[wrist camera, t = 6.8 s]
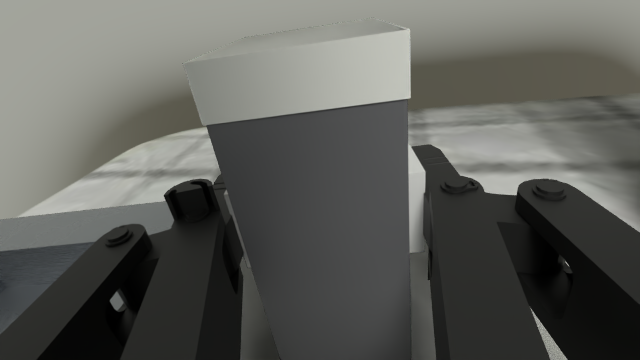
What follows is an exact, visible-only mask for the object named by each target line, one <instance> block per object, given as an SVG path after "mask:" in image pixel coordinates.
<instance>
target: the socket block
mask: <svg viewBox="0 0 640 360" xmlns="http://www.w3.org/2000/svg"><path fill="white" fill-rule="evenodd" d="M173 222H174V219H173V216H172V214H171V212H170V209H169V207H168V205H167V202H166V201H164V202H155V203H146V204H137V205H128V206H119V207H110V208H101V209H92V210H83V211H74V212H64V213H55V214H46V215H37V216H28V217H19V218H11V219H2V220H0V334H1V333H2V332H3V331H4V330H5V329H6V328H7V327H8V326H9V325H10V324H11V323H13V322H14V321H15V320H16V319H17V318H18V317H19V316H20V315H21V314H22V313H23V312H24V311H25V310H26V309H27V308H28V307H29V306H30V305H31V304H32V303H33V302H34V301H35V300H36V299H37V298H38V297H39V296H40V295H41V294H42V293H43V292H44V291H45V290H46V289H47V288H48V287H49V286H50V285H51V284H52V283H54V282H55V281H56V280H57V279H58V278H59V277H60V276H61V275H62V274H63V273H64V272H65V271H66V270H67V269H68V268H69V267H70V266H71V265H72V264H73V263H74V262H75V261H76V260H77V259H78V258H79V257H80V256H81V255H82V254H83V253H84V252H85V251H86V250H87V249H88V248H89V247H90V246H91V245H92V244H93V243H95V242H96V241H97V240H98V239H99V238H100V237H101V236H103V235H104V234H106V233H107V232H109V231H111V230H112V229H113V228H116V227H119V226H122V225H128V224H141V225H143V226H144V227H145V229H146V231H147V233H148V235H151V234H155V233H158V232H162V231H165V230H168V229H171V227H172V224H173ZM110 302H111V304H112V306H113V307H114V309H115V310H118V309H119V308H120V307H121V306H122V304H123V301H122V299H121V297H120V296H119V294H118V292H116V293H115V294H114V296H113V297H112V298H111V300H110Z"/></svg>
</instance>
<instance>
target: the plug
mask: <svg viewBox="0 0 640 360" xmlns="http://www.w3.org/2000/svg"><path fill="white" fill-rule="evenodd" d="M183 66H184V69H185V72H186V75H187V78H188V82H189V84H190V88H191V91H192V94H193V97H194V100H195V103H196V106H197V110H198V113H199V116H200V119H201V122H202V125H206V126H207V130H208V133H209V136H210V139H211V142H212V145H213V149H214V152H215V155H216V158H217V161H218V164H219V168H220V171H221V174H222V177H223V180H224V183H225V186H226V190H227V193H228V196H229V199H230V202H231V205H232V209H233V212H234V215H235V218H236V221H237V224H238V228H239V231H240V234H241V237H242V240H243V243H244V247H245V250H246V253H247V256H248V259H249V262H250V266H251V269H252V272H253V275H254V278H255V281H256V284H257V288H258V291H259V294H260V297H261V300H262V303H263V307H264V310H265V313H266V316H267V319H268V322H269V326H270V329H271V332H272V335H273V338H274V341H275V345H276V348H277V351H278V354H279V357H280V360H411V311H410V242H409V172H408V108H407V107H408V103H407V99H409V98H411V83H410V29H407V28H404V27H401V26H398V25H395V24H392V23H389V22H386V21H383V20H380V19H376V18H368V19H361V20H356V21H349V22H342V23H335V24H329V25H322V26H316V27H309V28H303V29H297V30H290V31H283V32H276V33H270V34H263V35H257V36H251V37H245V38H242V39H240V40H237V41H235V42H232V43H230V44H228V45H225V46H223V47H221V48H218V49H215V50H213V51H211V52H208V53H206V54H204V55H201V56H199V57H196V58H194V59H191V60H189V61H187V62H184V63H183Z"/></svg>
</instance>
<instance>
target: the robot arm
mask: <svg viewBox="0 0 640 360" xmlns="http://www.w3.org/2000/svg"><path fill="white" fill-rule="evenodd" d="M408 172H409V242H410V253H415V252H424V251H425V240H426V242H427V244H428V247H429V250H428V280H430V287H431V299H432V311H433V323H434V335H435V347H436V360H550V358H549V355H548V353H547V350H546V348H545V345H544V342H543V340H542V337H541V335H540V332H539V330H538V327H537V325H536V322H535V319H534V317H533V314H532V312H531V309H532V310H533V312H534V313H535V315H536V316H537V317H538V319H539V320H540V322H541V323H542V324H543V326H544V327H545V329H546V330H547V331H548V333H549V334H550V336H551V337H552V338H553V340H554V341H555V343H556V344H557V345H558V347H559V348H560V350H561V351H562V352H563V354H564V355H565V357H566V358H567V359H568V360H640V232H638V231H637V230H635V229H634V228H632V227H631V226H630V225H628V224H627V223H625V222H624V221H622V220H621V219H620V218H618V217H617V216H615V215H614V214H612V213H611V212H609V211H608V210H607V209H605V208H604V207H602V206H601V205H599V204H598V203H597V202H595V201H594V200H592V199H591V198H589V197H588V196H587V195H585V194H584V193H582V192H581V191H579V190H578V189H576V188H575V187H573V186H571V185H569V184H566V183H563V182H559V181H557V180H552V179H550V180H549V179H533V180H529V181H525V182H523V183H521V184H520V185H519V187H518V191H517V196H516V195H501V194H491V193H486V192H484V189H483V187H482V186H481V184H480V183H479V182H477V181H476V180H474V179H472V178H468V177H464V176H460V175H459V174H458V172H457V171H456V170H455V168H454V167H453V166H452V165H451V163H449V161H448V159H447V158H446V157H445V155H444V154H443V153H442V151H441V150H440V149H438V148H436V147H434V146H432V145H421V146H413V147H411V146H410V144H409V142H408ZM164 197H165V200H166V202H167V205H168V207H169V209H170V212H171V214H172V216H173V219H174V222H173V224H172V227H171V229H168V230H165V231H162V232H158V233H155V234H151V235H148V233H147V231H146V229H145V227H144V226H143V225H141V224H128V225H122V226H119V227H116V228H113V229H112V230H111V231H109V232H107V233H106V234H104V235H103V236H101V237H100V238H99V239H98V240H97V241H96V242H95V243H93V244H92V245H91V246H90V247H89V248H88V249H87V250H86V251H85V252H84V253H83V254H82V255H81V256H80V257H79V258H78V259H77V260H76V261H75V262H74V263H73V264H72V265H71V266H70V267H69V268H68V269H67V270H66V271H65V272H64V273H63V274H62V275H61V276H60V277H59V278H58V279H57V280H56V281H55V282H54V283H52V284H51V285H50V286H49V287H48V288H47V289H46V290H45V291H44V292H43V293H42V294H41V295H40V296H39V297H38V298H37V299H36V300H35V301H34V302H33V303H32V304H31V305H30V306H29V307H28V308H27V309H26V310H25V311H24V312H23V313H22V314H21V315H20V316H19V317H18V318H17V319H16V320H15V321H14V322H13V323H11V324H10V325H9V326H8V327H7V328H6V329H5V330H4V331H3V332H2V333H1V334H0V360H240V345H241V320H242V295H243V275H242V271H241V268H240V262H241V259H242V256H244V259H245V262H246V265H247V268H251V266H250V262H249V259H248V256H247V253H246V250H245V247H244V243H243V240H242V237H241V234H240V231H239V228H238V224H237V221H236V218H235V215H234V212H233V209H232V205H231V202H230V199H229V196H228V193H227V190H226V186H225V183H224V180H223V177H222V174H221V175H219V176H218V177H217V179H216V181H215V182H214V185H212V182H211V181H209V180H207V179H195V180H190V181H186V182H183V183H181V184H178V185H176V186H174V187H172V188H171V189H170V190H168V191H167V192H166V193H165V194H164ZM565 261H566V262H567V263H568V265H569V266H570V267H569V266H568V265H567V264H566V263H565ZM116 292H118V294H119V296H120V297H121V299H122V301H123V304H122V306H121V307H120V308H119V309H118V310H115V309H114V307H113V306H112V304H111V302H110V300H111V298H112V297H113V296H114V294H115V293H116ZM529 306H530V307H529ZM530 308H531V309H530Z"/></svg>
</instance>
